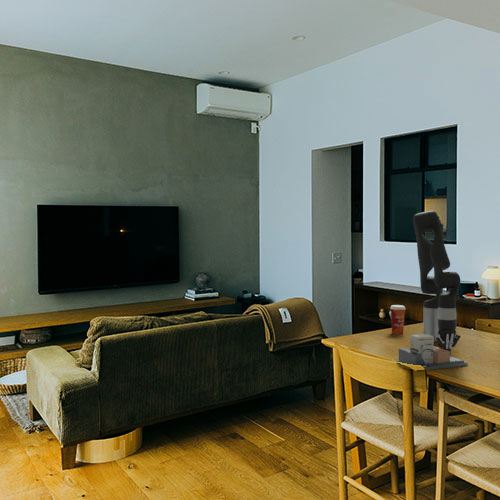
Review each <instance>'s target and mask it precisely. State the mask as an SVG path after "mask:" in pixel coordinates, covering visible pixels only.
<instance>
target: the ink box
mask: <svg viewBox="0 0 500 500" xmlns="http://www.w3.org/2000/svg"><path fill="white" fill-rule="evenodd" d="M434 343H435V342H434V336H431V335H429V334H423V333H420V334H411V335H410V348H409V350H411V351H414V352H416V353H419V354H422V364H428V363H433V350H434Z"/></svg>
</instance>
